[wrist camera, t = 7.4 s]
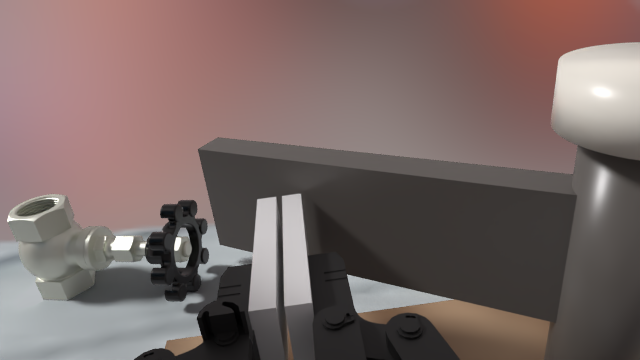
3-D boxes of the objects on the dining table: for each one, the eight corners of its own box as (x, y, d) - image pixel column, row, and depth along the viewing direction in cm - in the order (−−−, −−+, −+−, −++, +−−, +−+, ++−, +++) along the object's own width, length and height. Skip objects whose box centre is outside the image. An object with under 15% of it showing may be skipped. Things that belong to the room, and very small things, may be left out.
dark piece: (221, 357, 24) (142, 58, 17) (271, 297, 27) (222, 33, 21) (787, 566, 14) (1114, 69, 7) (745, 430, 18) (938, 18, 11)
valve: (12, 317, 31) (179, 324, 29) (-31, 234, 28) (151, 234, 26) (73, 257, 37) (216, 260, 35) (43, 183, 34) (197, 181, 32)
